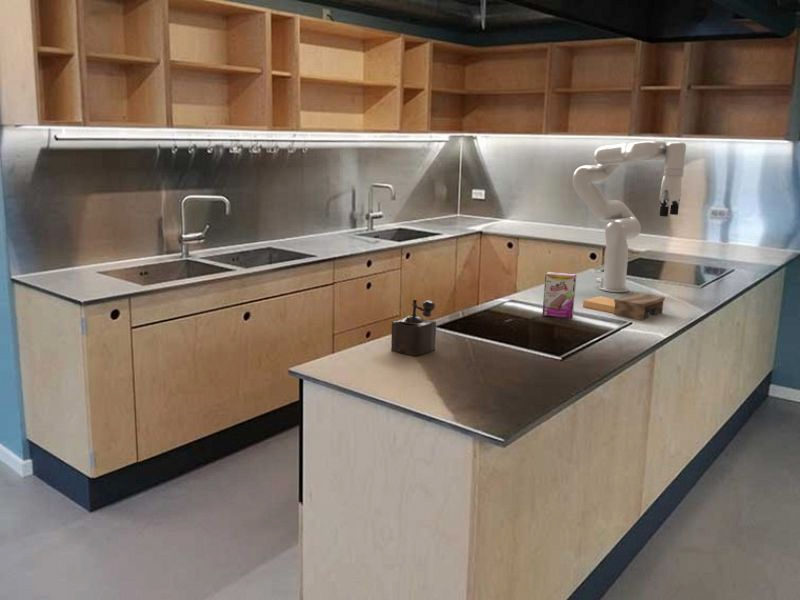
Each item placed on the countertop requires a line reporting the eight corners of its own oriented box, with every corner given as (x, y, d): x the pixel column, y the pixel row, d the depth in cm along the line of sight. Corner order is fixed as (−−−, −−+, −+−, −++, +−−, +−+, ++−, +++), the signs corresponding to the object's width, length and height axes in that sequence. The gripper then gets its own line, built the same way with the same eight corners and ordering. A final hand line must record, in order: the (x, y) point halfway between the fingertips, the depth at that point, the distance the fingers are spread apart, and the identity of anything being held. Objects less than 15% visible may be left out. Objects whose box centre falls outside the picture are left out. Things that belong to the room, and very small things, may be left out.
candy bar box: (542, 316, 272) (544, 273, 268) (543, 313, 277) (546, 271, 273) (572, 319, 268) (575, 276, 265) (573, 316, 273) (576, 273, 269)
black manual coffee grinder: (388, 350, 226) (389, 295, 222) (410, 343, 235) (411, 289, 230) (428, 361, 217) (429, 303, 213) (449, 352, 225) (451, 296, 221)
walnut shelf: (613, 314, 276) (614, 299, 275) (635, 307, 288) (637, 292, 287) (641, 320, 268) (642, 304, 267) (663, 312, 280) (664, 297, 279)
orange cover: (582, 306, 288) (583, 300, 288) (598, 302, 297) (598, 296, 296) (614, 313, 279) (615, 306, 278) (629, 308, 287) (630, 301, 286)
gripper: (673, 172, 300) (668, 213, 304) (654, 173, 288) (650, 216, 292) (691, 173, 295) (686, 214, 299) (673, 174, 283) (668, 217, 287)
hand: (668, 215), depth 296 cm, fingers open, 9 cm apart
